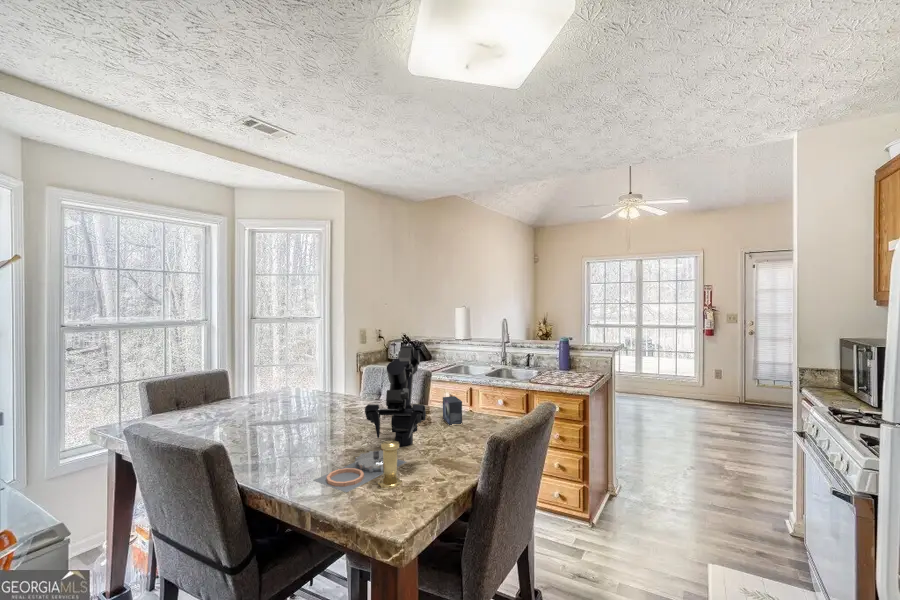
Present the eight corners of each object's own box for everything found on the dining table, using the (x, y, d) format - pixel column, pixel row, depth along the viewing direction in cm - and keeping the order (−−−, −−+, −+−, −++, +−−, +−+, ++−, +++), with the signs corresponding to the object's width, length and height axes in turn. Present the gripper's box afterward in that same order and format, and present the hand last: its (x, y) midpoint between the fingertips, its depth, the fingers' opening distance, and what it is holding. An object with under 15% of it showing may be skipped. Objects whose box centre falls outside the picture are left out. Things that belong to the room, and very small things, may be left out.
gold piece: (389, 481, 124) (389, 437, 124) (407, 486, 120) (407, 441, 120) (372, 489, 118) (372, 444, 118) (391, 495, 114) (391, 448, 114)
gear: (375, 453, 142) (375, 442, 142) (405, 461, 135) (405, 449, 135) (345, 466, 131) (345, 453, 131) (377, 476, 124) (377, 462, 124)
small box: (441, 419, 189) (441, 396, 189) (455, 418, 191) (455, 395, 191) (448, 426, 179) (448, 402, 179) (462, 425, 181) (462, 400, 181)
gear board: (375, 457, 143) (375, 450, 143) (407, 466, 135) (407, 458, 135) (313, 485, 121) (313, 476, 121) (346, 497, 113) (346, 488, 113)
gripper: (366, 378, 131) (358, 424, 120) (425, 378, 131) (422, 424, 120) (370, 398, 139) (363, 442, 127) (426, 398, 139) (424, 442, 127)
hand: (393, 437), depth 125 cm, fingers open, 9 cm apart
